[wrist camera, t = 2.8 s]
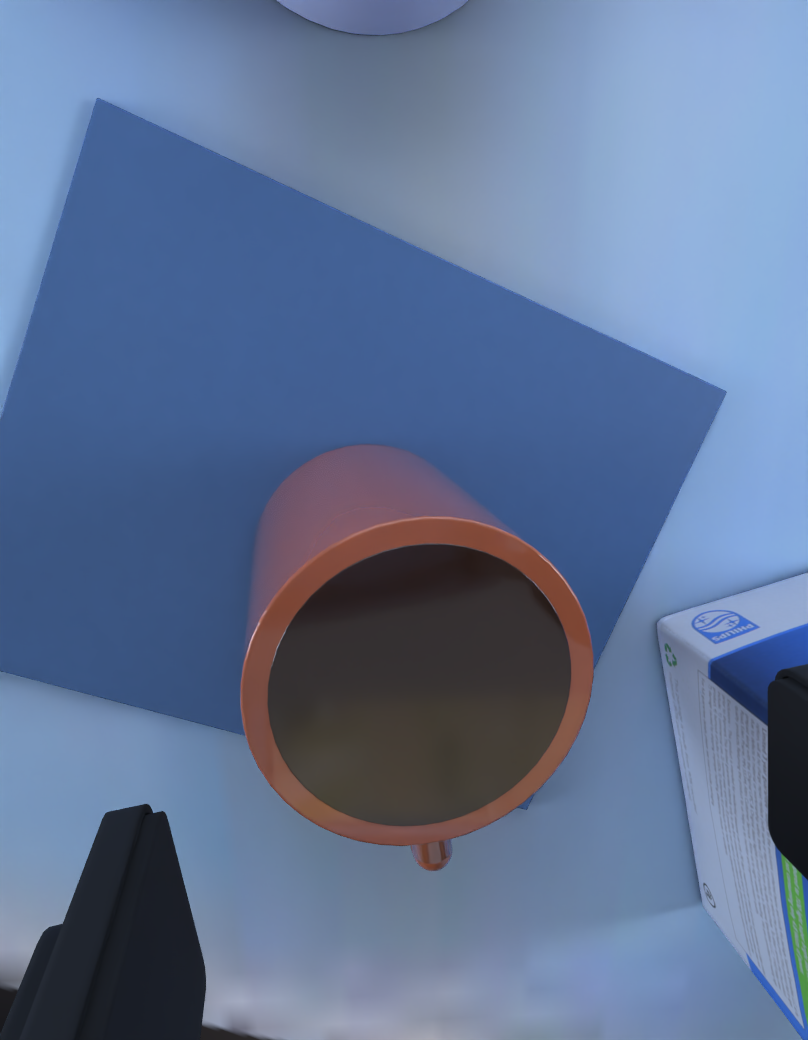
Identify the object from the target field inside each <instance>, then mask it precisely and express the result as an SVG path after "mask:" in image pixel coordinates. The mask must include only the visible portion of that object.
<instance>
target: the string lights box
mask: <svg viewBox="0 0 808 1040" xmlns="http://www.w3.org/2000/svg"><path fill="white" fill-rule="evenodd" d="M657 634H658V640H659V646H660V652H661V658H662V664H663V670H664V676H665V682H666V688H667V694H668V700H669V706H670V712H671V718H672V724H673V729H674V735H675V741H676V747H677V753H678V759H679V765H680V771H681V776H682V782H683V788H684V794H685V800H686V807H687V814H688V821H689V826H690V832H691V838H692V844H693V850H694V856H695V862H696V868H697V874H698V880H699V886H700V892H701V898H702V904H703V907H704V908H705V910H706V911H707V912H708V913H709V915H710V916H711V917H712V919H713V920H714V921H715V923H716V924H717V925H718V927H719V928H720V929H721V931H722V932H723V933H724V935H725V936H726V937H727V939H728V940H729V941H730V943H731V944H732V945H733V947H734V948H735V949H736V951H737V952H738V954H739V955H740V956H741V958H742V959H743V960H744V962H745V963H746V964H747V966H748V967H749V968H750V970H751V971H752V972H753V973H754V975H755V976H756V977H757V979H758V980H759V981H760V983H761V984H762V985H763V987H764V988H765V989H766V991H767V992H768V993H769V995H770V996H771V997H772V999H773V1000H774V1001H775V1003H776V1004H777V1005H778V1007H779V1008H780V1009H781V1011H782V1012H783V1013H784V1015H785V1016H786V1017H787V1019H788V1020H789V1021H790V1023H791V1024H792V1025H793V1027H794V1028H795V1029H796V1031H797V1032H798V1033H799V1035H800V1036H801V1038H802V1039H803V1040H808V880H807V879H806V878H805V877H804V876H803V875H802V874H801V873H800V872H799V871H798V870H797V869H796V868H795V867H794V866H793V865H792V864H791V863H790V862H789V861H788V860H787V859H786V858H785V857H784V856H783V855H782V854H781V852H780V851H779V850H778V849H777V848H776V846H775V844H774V843H773V841H772V838H771V836H770V833H769V829H768V686H769V684H770V683H771V682H772V681H775V677H776V675H777V672H779V671H780V670H781V669H786V668H791V667H796V666H800V665H805V664H808V573H804V574H801V575H798V576H795V577H791V578H788V579H785V580H782V581H779V582H775V583H772V584H769V585H766V586H762V587H759V588H756V589H753V590H749V591H746V592H743V593H739V594H736V595H733V596H729V597H726V598H723V599H719V600H716V601H713V602H710V603H706V604H703V605H700V606H697V607H693V608H690V609H687V610H684V611H681V612H677V613H674V614H671V615H668V616H665V617H663V618H661V619H660V620H659V621H658V622H657Z"/></svg>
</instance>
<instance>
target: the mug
mask: <svg viewBox="0 0 808 1040" xmlns="http://www.w3.org/2000/svg"><path fill="white" fill-rule="evenodd" d="M592 682H593V649H592V642H591V635H590V631H589V628H588V624H587V620H586V617H585V614H584V612H583V609H582V607H581V605H580V603H579V600H578V598H577V596H576V594H575V593H574V591H573V590H572V588H571V587H570V585H569V583H568V582H567V580H566V579H565V577H564V576H563V575H562V574H561V573H560V572H559V570H558V569H557V568H556V567H555V566H554V565H553V564H552V562H551V561H549V560H548V559H547V558H546V557H545V556H544V555H542V554H541V553H540V552H539V551H538V550H537V549H536V548H534V547H533V546H532V545H531V544H530V543H528V542H527V541H526V540H525V539H523V538H522V537H521V536H520V535H519V534H517V533H516V532H515V531H514V530H513V529H511V528H510V527H509V526H508V525H506V524H505V523H504V522H503V521H502V520H500V519H499V518H498V517H497V516H496V515H494V514H493V513H492V512H491V511H490V510H488V509H487V508H486V507H485V506H483V505H482V504H481V503H480V502H479V501H477V500H476V499H475V498H474V497H473V496H471V495H470V494H469V493H468V492H467V491H465V490H464V489H463V488H462V487H460V486H459V485H458V484H457V483H456V482H454V481H453V480H452V479H451V478H450V477H448V476H447V475H446V474H445V473H443V472H442V471H441V470H440V469H439V468H437V467H436V466H435V465H433V464H432V463H430V462H429V461H427V460H426V459H424V458H422V457H420V456H418V455H416V454H414V453H412V452H409V451H406V450H403V449H400V448H396V447H391V446H385V445H375V444H362V445H352V446H347V447H342V448H338V449H334V450H332V451H329V452H326V453H323V454H321V455H319V456H317V457H315V458H313V459H311V460H309V461H308V462H306V463H305V464H303V465H302V466H300V467H299V468H298V469H296V470H295V471H294V472H293V473H291V474H290V475H289V476H288V477H287V478H286V479H285V480H284V481H283V482H282V483H281V484H280V486H279V487H278V488H277V489H276V490H275V492H274V493H273V495H272V496H271V498H270V499H269V501H268V503H267V504H266V506H265V508H264V510H263V512H262V515H261V517H260V519H259V523H258V526H257V529H256V533H255V539H254V545H253V554H252V565H251V575H250V586H249V597H248V607H247V618H246V628H245V639H244V650H243V660H242V671H241V681H240V708H241V716H242V723H243V729H244V732H245V735H246V739H247V742H248V745H249V749H250V751H251V753H252V755H253V757H254V759H255V761H256V764H257V766H258V768H259V769H260V771H261V772H262V774H263V775H264V777H265V778H266V780H267V781H268V783H269V784H270V786H271V787H272V788H273V789H274V790H275V791H276V792H277V793H278V794H279V796H280V797H281V798H282V799H283V800H284V801H285V802H286V803H287V804H288V805H290V806H291V807H292V808H293V809H294V810H296V811H297V812H298V813H299V814H300V815H302V816H303V817H305V818H307V819H308V820H310V821H311V822H313V823H315V824H316V825H318V826H320V827H322V828H324V829H326V830H329V831H331V832H333V833H335V834H337V835H340V836H344V837H347V838H350V839H353V840H357V841H361V842H367V843H372V844H378V845H393V846H409V845H411V849H412V853H413V856H414V859H415V861H416V862H417V864H418V865H419V866H420V867H422V868H423V869H425V870H428V871H438V870H440V869H442V868H444V867H445V866H446V865H447V864H448V862H449V861H450V859H451V856H452V841H451V839H452V838H456V837H459V836H463V835H466V834H468V833H471V832H473V831H476V830H478V829H480V828H483V827H485V826H487V825H489V824H491V823H493V822H495V821H496V820H498V819H500V818H502V817H504V816H505V815H507V814H508V813H510V812H511V811H513V810H514V809H515V808H517V807H518V806H520V805H521V804H523V803H524V802H525V801H526V800H527V799H528V798H530V797H531V796H532V795H533V794H534V793H535V792H536V791H537V790H539V789H540V788H541V787H542V785H543V784H544V783H545V782H546V781H547V780H548V779H549V778H550V777H551V776H552V774H553V773H554V772H555V771H556V769H557V768H558V767H559V765H560V764H561V763H562V761H563V760H564V758H565V757H566V756H567V754H568V752H569V750H570V749H571V747H572V745H573V743H574V741H575V740H576V738H577V736H578V733H579V731H580V728H581V726H582V723H583V721H584V719H585V716H586V712H587V708H588V705H589V701H590V697H591V690H592Z"/></svg>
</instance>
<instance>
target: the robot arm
mask: <svg viewBox="0 0 808 1040" xmlns="http://www.w3.org/2000/svg"><path fill="white" fill-rule="evenodd" d="M768 829H769V833H770V836H771V838H772V841H773V843H774V844H775V846H776V848H777V849H778V850H779V851H780V852H781V854H782V855H783V856H784V857H785V858H786V859H787V860H788V861H789V862H790V863H791V864H792V865H793V866H794V867H795V868H796V869H797V870H798V871H799V872H800V873H801V874H802V875H803V876H804V877H805V878H806V879H807V880H808V664H805V665H800V666H796V667H791V668H786V669H781V670H780V671H779V672H777V675H776V677H775V681H772V682H771V683H770V684H769V686H768ZM205 992H206V973H205V965H204V960H203V956H202V952H201V948H200V944H199V940H198V936H197V932H196V928H195V924H194V920H193V917H192V913H191V909H190V905H189V901H188V897H187V893H186V889H185V885H184V881H183V877H182V873H181V869H180V866H179V862H178V858H177V854H176V850H175V846H174V842H173V838H172V834H171V830H170V826H169V822H168V819H167V816H166V814H165V812H163V811H161V812H157V813H153V811H152V809H151V807H150V806H149V805H148V804H143V805H139V806H134V807H129V808H125V809H120V810H115V811H110V812H107V813H105V815H104V817H103V819H102V822H101V824H100V827H99V830H98V832H97V835H96V837H95V840H94V843H93V845H92V848H91V851H90V853H89V856H88V859H87V861H86V864H85V867H84V869H83V872H82V875H81V877H80V880H79V883H78V885H77V888H76V890H75V893H74V896H73V898H72V901H71V904H70V906H69V909H68V912H67V914H66V917H65V920H64V922H63V924H60V925H56V926H52V927H49V928H48V929H46V930H45V931H44V932H43V934H42V936H41V937H40V939H39V941H38V943H37V946H36V948H35V950H34V953H33V955H32V958H31V960H30V963H29V965H28V968H27V970H26V973H25V975H24V977H23V980H22V982H21V985H20V987H19V990H18V992H17V995H16V997H15V1000H14V1002H13V1004H12V1007H11V1010H10V1012H9V1014H8V1017H7V1019H6V1022H5V1024H4V1027H3V1029H2V1032H1V1034H0V1040H200V1035H201V1026H202V1018H203V1010H204V1001H205Z"/></svg>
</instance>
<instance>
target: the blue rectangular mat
mask: <svg viewBox="0 0 808 1040" xmlns="http://www.w3.org/2000/svg"><path fill="white" fill-rule="evenodd" d="M725 395H726V391H725V390H723V389H720V388H718V387H716V386H714V385H712V384H710V383H708V382H705V381H703V380H701V379H699V378H697V377H695V376H693V375H690V374H688V373H686V372H684V371H682V370H680V369H678V368H675V367H673V366H671V365H669V364H667V363H665V362H663V361H660V360H658V359H656V358H654V357H652V356H650V355H648V354H645V353H643V352H641V351H639V350H637V349H635V348H633V347H630V346H628V345H626V344H624V343H622V342H620V341H618V340H615V339H613V338H611V337H609V336H607V335H605V334H603V333H600V332H598V331H596V330H594V329H592V328H590V327H588V326H585V325H583V324H581V323H579V322H577V321H575V320H573V319H570V318H568V317H566V316H564V315H562V314H560V313H558V312H555V311H553V310H551V309H549V308H547V307H545V306H543V305H540V304H538V303H536V302H534V301H532V300H530V299H528V298H526V297H523V296H521V295H519V294H517V293H515V292H513V291H511V290H508V289H506V288H504V287H502V286H500V285H498V284H496V283H493V282H491V281H489V280H487V279H485V278H483V277H481V276H478V275H476V274H474V273H472V272H470V271H468V270H466V269H463V268H461V267H459V266H457V265H455V264H453V263H451V262H448V261H446V260H444V259H442V258H440V257H438V256H436V255H433V254H431V253H429V252H427V251H425V250H423V249H421V248H418V247H416V246H414V245H412V244H410V243H408V242H406V241H403V240H401V239H399V238H397V237H395V236H393V235H391V234H388V233H386V232H384V231H382V230H380V229H378V228H376V227H373V226H371V225H369V224H367V223H365V222H363V221H361V220H358V219H356V218H354V217H352V216H350V215H348V214H346V213H343V212H341V211H339V210H337V209H335V208H333V207H331V206H328V205H326V204H324V203H322V202H320V201H318V200H316V199H313V198H311V197H309V196H307V195H305V194H303V193H301V192H299V191H296V190H294V189H292V188H290V187H288V186H286V185H284V184H281V183H279V182H277V181H275V180H273V179H271V178H269V177H266V176H264V175H262V174H260V173H258V172H256V171H254V170H251V169H249V168H247V167H245V166H243V165H241V164H239V163H236V162H234V161H232V160H230V159H228V158H226V157H224V156H221V155H219V154H217V153H215V152H213V151H211V150H209V149H206V148H204V147H202V146H200V145H198V144H196V143H194V142H191V141H189V140H187V139H185V138H183V137H181V136H179V135H176V134H174V133H172V132H170V131H168V130H166V129H164V128H161V127H159V126H157V125H155V124H153V123H151V122H149V121H146V120H144V119H142V118H140V117H138V116H136V115H134V114H131V113H129V112H127V111H125V110H123V109H121V108H119V107H116V106H114V105H112V104H110V103H108V102H106V101H104V100H101V99H99V98H97V99H96V103H95V106H94V109H93V113H92V116H91V119H90V123H89V126H88V129H87V133H86V136H85V139H84V143H83V146H82V149H81V153H80V156H79V159H78V163H77V166H76V169H75V173H74V176H73V179H72V183H71V186H70V189H69V192H68V196H67V199H66V202H65V206H64V209H63V212H62V216H61V219H60V222H59V226H58V229H57V232H56V236H55V239H54V242H53V246H52V249H51V252H50V256H49V259H48V262H47V266H46V269H45V272H44V276H43V279H42V282H41V286H40V289H39V292H38V295H37V299H36V302H35V305H34V309H33V312H32V315H31V319H30V322H29V325H28V329H27V332H26V335H25V339H24V342H23V345H22V349H21V352H20V355H19V359H18V362H17V365H16V369H15V372H14V375H13V379H12V382H11V385H10V389H9V392H8V395H7V399H6V402H5V405H4V408H3V412H2V415H1V418H0V671H3V672H6V673H10V674H14V675H18V676H21V677H25V678H29V679H33V680H37V681H40V682H44V683H48V684H52V685H56V686H59V687H63V688H67V689H71V690H75V691H78V692H82V693H86V694H90V695H94V696H97V697H101V698H105V699H109V700H112V701H116V702H120V703H124V704H128V705H131V706H135V707H139V708H143V709H147V710H150V711H154V712H158V713H162V714H166V715H169V716H173V717H177V718H181V719H184V720H188V721H192V722H196V723H200V724H203V725H207V726H211V727H215V728H219V729H222V730H226V731H230V732H234V733H238V734H241V735H245V732H244V729H243V723H242V716H241V708H240V681H241V671H242V660H243V650H244V639H245V628H246V618H247V607H248V597H249V586H250V575H251V565H252V554H253V545H254V539H255V533H256V529H257V526H258V523H259V519H260V517H261V515H262V512H263V510H264V508H265V506H266V504H267V503H268V501H269V499H270V498H271V496H272V495H273V493H274V492H275V490H276V489H277V488H278V487H279V486H280V484H281V483H282V482H283V481H284V480H285V479H286V478H287V477H288V476H289V475H290V474H291V473H293V472H294V471H295V470H296V469H298V468H299V467H300V466H302V465H303V464H305V463H306V462H308V461H309V460H311V459H313V458H315V457H317V456H319V455H321V454H323V453H326V452H329V451H332V450H334V449H338V448H342V447H347V446H352V445H362V444H375V445H385V446H391V447H396V448H400V449H403V450H406V451H409V452H412V453H414V454H416V455H418V456H420V457H422V458H424V459H426V460H427V461H429V462H430V463H432V464H433V465H435V466H436V467H437V468H439V469H440V470H441V471H442V472H443V473H445V474H446V475H447V476H448V477H450V478H451V479H452V480H453V481H454V482H456V483H457V484H458V485H459V486H460V487H462V488H463V489H464V490H465V491H467V492H468V493H469V494H470V495H471V496H473V497H474V498H475V499H476V500H477V501H479V502H480V503H481V504H482V505H483V506H485V507H486V508H487V509H488V510H490V511H491V512H492V513H493V514H494V515H496V516H497V517H498V518H499V519H500V520H502V521H503V522H504V523H505V524H506V525H508V526H509V527H510V528H511V529H513V530H514V531H515V532H516V533H517V534H519V535H520V536H521V537H522V538H523V539H525V540H526V541H527V542H528V543H530V544H531V545H532V546H533V547H534V548H536V549H537V550H538V551H539V552H540V553H541V554H542V555H544V556H545V557H546V558H547V559H548V560H549V561H551V562H552V564H553V565H554V566H555V567H556V568H557V569H558V570H559V572H560V573H561V574H562V575H563V576H564V577H565V579H566V580H567V582H568V583H569V585H570V587H571V588H572V590H573V591H574V593H575V594H576V596H577V598H578V600H579V603H580V605H581V607H582V609H583V612H584V614H585V617H586V620H587V624H588V628H589V631H590V635H591V642H592V649H593V670H594V668H595V666H596V664H597V662H598V660H599V658H600V656H601V653H602V651H603V649H604V647H605V645H606V643H607V641H608V639H609V637H610V635H611V633H612V631H613V628H614V626H615V624H616V622H617V620H618V618H619V616H620V614H621V612H622V610H623V608H624V605H625V603H626V601H627V599H628V597H629V595H630V593H631V591H632V589H633V587H634V585H635V582H636V580H637V578H638V576H639V574H640V572H641V570H642V568H643V566H644V564H645V562H646V560H647V557H648V555H649V553H650V551H651V549H652V547H653V545H654V543H655V541H656V539H657V537H658V534H659V532H660V530H661V528H662V526H663V524H664V522H665V520H666V518H667V516H668V514H669V511H670V509H671V507H672V505H673V503H674V501H675V499H676V497H677V495H678V493H679V491H680V489H681V486H682V484H683V482H684V480H685V478H686V476H687V474H688V472H689V470H690V468H691V466H692V463H693V461H694V459H695V457H696V455H697V453H698V451H699V449H700V447H701V445H702V443H703V440H704V438H705V436H706V434H707V432H708V430H709V428H710V426H711V424H712V422H713V420H714V418H715V415H716V413H717V411H718V409H719V407H720V405H721V403H722V401H723V399H724V397H725ZM245 736H246V735H245ZM533 795H534V794H533ZM533 795H532V796H531V797H530V798H528V799H527V800H526V801H525V802H524V803H523V804H521V805H520V806H518V808H522V809H526V810H527V808H528V806H529V804H530V802H531V800H532V798H533Z"/></svg>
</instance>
